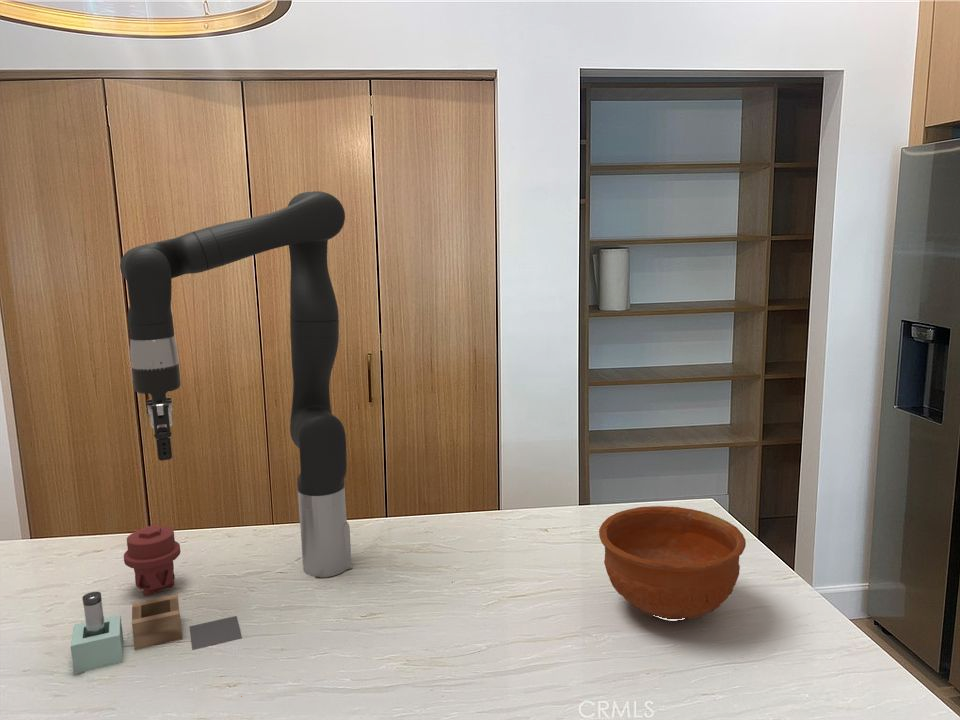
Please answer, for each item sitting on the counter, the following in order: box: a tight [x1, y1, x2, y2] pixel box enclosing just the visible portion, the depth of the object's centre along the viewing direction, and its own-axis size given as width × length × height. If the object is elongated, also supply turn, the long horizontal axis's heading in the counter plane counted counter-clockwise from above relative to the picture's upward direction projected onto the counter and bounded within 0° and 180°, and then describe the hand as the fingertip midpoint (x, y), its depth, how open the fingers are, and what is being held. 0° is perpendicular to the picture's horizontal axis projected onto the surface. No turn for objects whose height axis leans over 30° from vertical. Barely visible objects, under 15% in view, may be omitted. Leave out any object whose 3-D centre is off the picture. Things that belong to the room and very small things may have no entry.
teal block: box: [69, 614, 125, 675], centre depth 122 cm, size 7×7×5 cm
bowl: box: [598, 505, 747, 620], centre depth 132 cm, size 25×25×15 cm
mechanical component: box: [123, 525, 182, 597], centre depth 144 cm, size 12×10×10 cm
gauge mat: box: [188, 615, 243, 651], centre depth 129 cm, size 8×8×1 cm
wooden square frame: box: [131, 593, 183, 651], centre depth 128 cm, size 7×7×5 cm
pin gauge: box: [81, 591, 106, 637], centre depth 121 cm, size 3×3×11 cm
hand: (164, 452), depth 132 cm, fingers open, 8 cm apart
